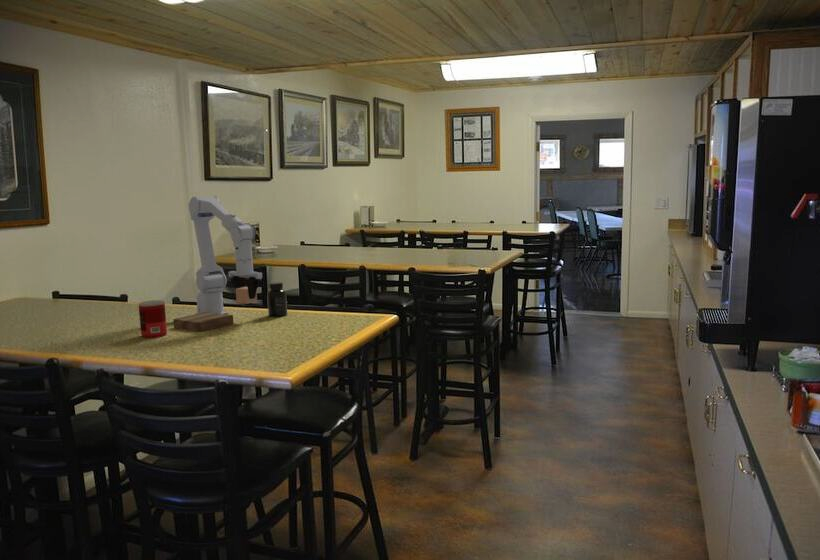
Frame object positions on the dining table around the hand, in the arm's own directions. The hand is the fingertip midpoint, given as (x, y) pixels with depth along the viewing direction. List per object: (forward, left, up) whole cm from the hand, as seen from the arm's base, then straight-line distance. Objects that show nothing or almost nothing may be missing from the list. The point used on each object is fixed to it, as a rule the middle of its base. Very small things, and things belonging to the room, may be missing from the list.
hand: (246, 298), depth 237 cm
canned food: (-12, -30, -9) cm, 33 cm away
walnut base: (-9, -12, -8) cm, 17 cm away
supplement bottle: (+2, +13, -9) cm, 16 cm away
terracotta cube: (0, 0, -1) cm, 1 cm away
